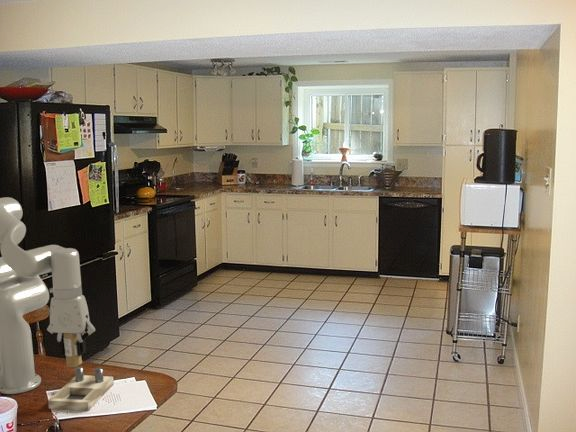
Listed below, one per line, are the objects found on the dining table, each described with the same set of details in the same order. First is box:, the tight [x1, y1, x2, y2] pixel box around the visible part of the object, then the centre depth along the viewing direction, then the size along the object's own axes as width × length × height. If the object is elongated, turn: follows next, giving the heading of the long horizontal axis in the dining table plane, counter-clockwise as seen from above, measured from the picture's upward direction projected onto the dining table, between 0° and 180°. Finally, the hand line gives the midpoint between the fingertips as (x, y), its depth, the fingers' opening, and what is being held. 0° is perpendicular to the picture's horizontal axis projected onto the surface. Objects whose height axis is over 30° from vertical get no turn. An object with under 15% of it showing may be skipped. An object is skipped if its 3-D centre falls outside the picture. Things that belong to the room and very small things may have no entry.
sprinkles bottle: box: [63, 333, 83, 368], centre depth 177 cm, size 5×5×13 cm
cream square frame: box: [47, 365, 114, 412], centre depth 183 cm, size 12×17×6 cm
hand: (73, 353), depth 178 cm, fingers closed on sprinkles bottle, 4 cm apart
